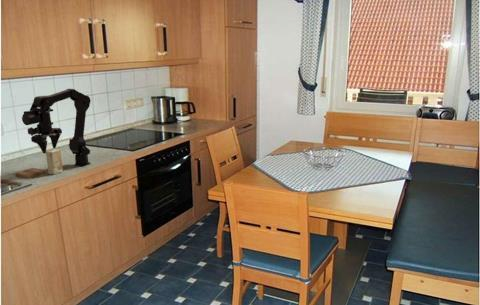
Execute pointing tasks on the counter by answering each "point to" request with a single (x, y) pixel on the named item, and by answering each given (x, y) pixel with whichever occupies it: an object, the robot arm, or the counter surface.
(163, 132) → the counter surface
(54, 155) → the skincare box
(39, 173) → the brown flat square block
